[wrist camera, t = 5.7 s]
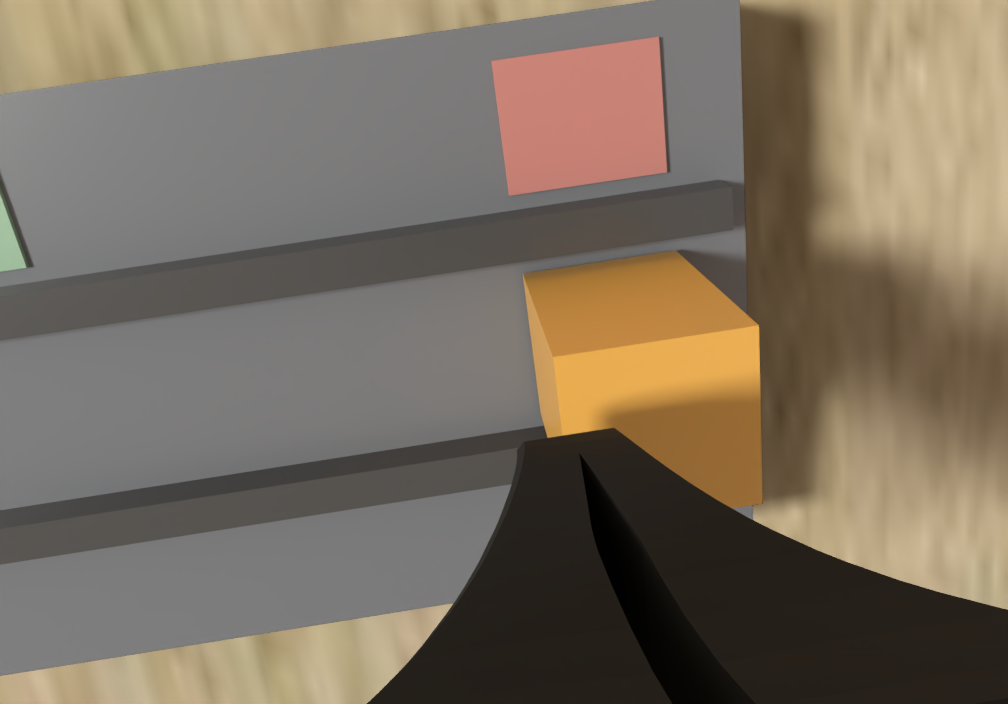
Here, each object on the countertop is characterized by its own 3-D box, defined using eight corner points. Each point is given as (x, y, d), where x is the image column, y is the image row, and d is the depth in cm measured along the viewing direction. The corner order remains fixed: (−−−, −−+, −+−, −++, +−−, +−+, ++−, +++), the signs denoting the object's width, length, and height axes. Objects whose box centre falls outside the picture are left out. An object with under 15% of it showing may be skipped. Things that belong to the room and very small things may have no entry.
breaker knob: (684, 390, 17) (763, 503, 13) (540, 413, 17) (573, 533, 13) (676, 250, 16) (758, 325, 12) (522, 273, 16) (553, 357, 12)
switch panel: (712, 487, 22) (766, 576, 18) (27, 596, 21) (-54, 708, 18) (690, -5, 17) (755, -14, 14) (-175, 119, 17) (-337, 143, 13)
